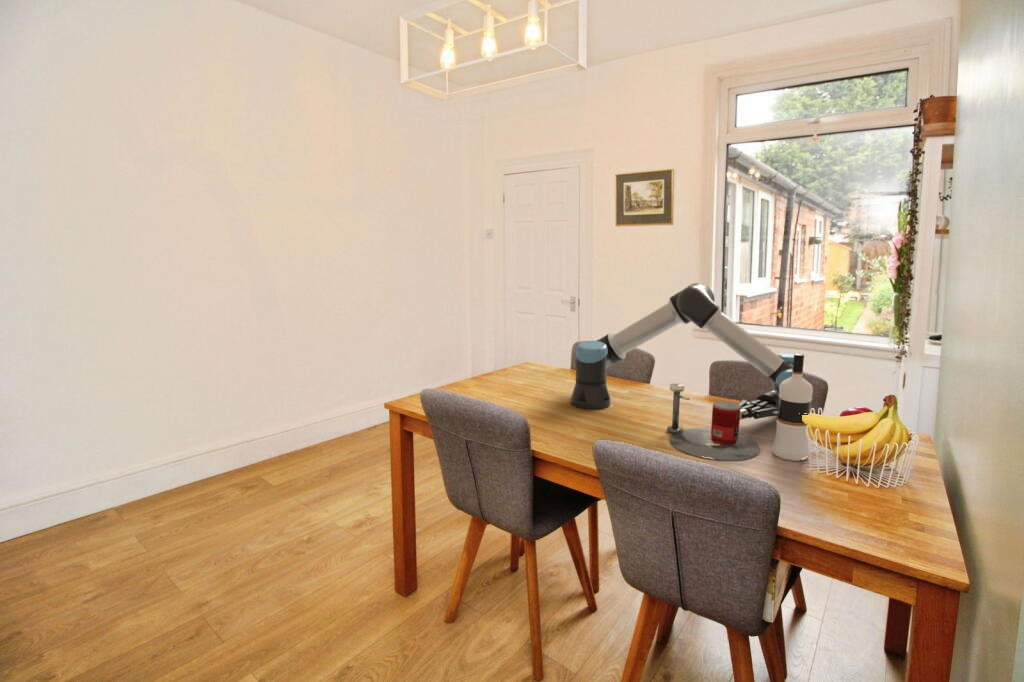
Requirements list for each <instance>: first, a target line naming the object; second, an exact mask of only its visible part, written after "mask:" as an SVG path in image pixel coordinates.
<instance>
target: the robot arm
mask: <svg viewBox="0 0 1024 682" xmlns="http://www.w3.org/2000/svg"><path fill="white" fill-rule="evenodd" d="M715 301H716V300H715V294H714V292H713V290H712V289H711V288H710V287H709V286H707V285H706V284H703V283H699V282H696V283H691V284H690V285H688V286H687V287H685V288H683V289H682V290H680V291H678V292H677V293H675V294H674V295H672V296H670V297H669V300H668V303H666V304H664V305H663V306H661V307H660V308H658V309H656V310H654V311H653V312H651V313H649V314H648V315H645V316H644V317H642V318H641V319H639V320H637V321H636V322H634V323H632V324H631V325H629V326H627V327H625V328H624V329H622V330H620V331H619V332H616V333H615V334H614V333H611V332H609V333H608V334H606V335H604V336H602V337H601V338H598V339H597V340H588V341H587V340H586V341H583V342H580V343H578V344H577V346H576V348H575V384H574V386H573V390H572V393H571V396H570V404H571V405H572V406H574V407H576V408H579V409H585V410H601V409H606V408H608V407H610V406H611V396H610V393H609V389H608V386H607V375H608V373H607V370H608V369H609V368H611V367H612V366H614V365H616V364H617V363H619V362H621V361H623V360H624V359H626V355H627V353H630V352H631V351H632V350H635V349H636V348H638V347H639V346H640V347H641V345H644V344H646V343H647V342H649V341H650V340H653V339H654V338H655V337H657V336H660V335H661V334H663V333H665V332H666V331H668V330H670V329H672V328H673V327H676V326H677V325H679V324H684V325H687V324H690V323H693V324H694V325H696V327H698V328H699V329H701V330H707V331H709V332H710V333H711V334H712V335H713V336H715V337H716V338H717V339H718V340H720V341H721V342H722V343H724V345H726V346H728V347H729V348H730V349H731V350H732V351H733V352H735V353H736V354H737V355H739V356H740V357H741V358H743V359H744V360H745V361H747V363H749V364H750V365H751V366H753V367H754V368H755V369H757V370H758V371H759V372H761V373H762V374H763V375H764V376H766V377H767V378H768V379H769V380H770V381H772V383H773V384H774V385H773V390H772V391H767V392H766V393H763V394H760V395H758V396H757V397H756V398H755V400H751V401H748V400H746V399H744V398H743V399H741V402H740V403H738V404H739V405H740V421H741V420H744V419H752V418H753V419H754V420H758V419H759V420H760V419H765V418H769V417H778V407H779V394H780V391H779V387H780V384H781V382H782V381H784V380H786V379H788V378H790V377H792V371H793V360H794V354H795V353H779V354H776V353H775V352H774V351H773V350H771V349H770V348H769V347H767V346H766V345H765V344H763V342H761V341H760V340H759V339H757V338H755V336H753V335H752V334H751V333H749V332H748V331H747V330H745V329H744V328H743V327H741V325H739V324H738V323H737V322H735V321H734V320H733V319H731V318H730V317H729V316H728V315H726V314H725V313H724V312H723V311H722V307H721V306H720V305H718V304H717V303H716V302H715Z"/></svg>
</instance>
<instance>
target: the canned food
mask: <svg viewBox="0 0 1024 682" xmlns="http://www.w3.org/2000/svg"><path fill="white" fill-rule="evenodd" d="M739 404H740V403H736V402H734V401H728V400H726V401H725V400H718V401H714V402H712V414H711V428H710V429H711V436H712V438H713V439H715V440H717V441H721V442H735V441H737V439H738V434H740V433H739V432H740V421H741V420H740V405H739Z"/></svg>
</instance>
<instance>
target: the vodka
mask: <svg viewBox="0 0 1024 682" xmlns="http://www.w3.org/2000/svg"><path fill="white" fill-rule="evenodd" d="M793 354H794V360H793V371H792V377H790V378H788V379H786V380H784V381H782V382H781V384H780V387H779V391H780V394H779V407H778V416H777V419H776V421H775V422H776V430H775V437H774V442H773V444H772V449H771V450H772V453H773V455H774V456H776V457H777V458H779V459H782V460H785V461H790V462H801V461H800V460H801V459H802V458H804V457H806V456H808V454H809V453H810V451H809V436H808V437H807V435H806V428H807V425H806V424H805V423H804V422H803V421H802V415H808V414H811V405H812V401H813V393H814V389H813V388H814V387H813V385H812V384H811V383H810V382H809V381H808V380H807V379H805V378H804V375H803V372H804V361H805V355H804V354H803V353H802V354H801V353H793ZM799 413H800V414H799ZM804 413H807V414H804ZM809 455H810V454H809ZM808 457H809V456H808Z"/></svg>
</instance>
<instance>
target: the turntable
mask: <svg viewBox="0 0 1024 682" xmlns="http://www.w3.org/2000/svg"><path fill="white" fill-rule="evenodd" d="M669 440H670V441H669V443H670V442H671V443H670V444H671V446H672V447H674V446H675V447H676V448H678V449H679V450H678V449H677V450H678V451H680V450H682V451H684V452H686V453H685V454H687V453H688V454H687V455H690V454H691V455H690V456H693V455H695V456H694V457H696V456H700V457H702V456H704V457H711V458H713V459H718V460H717V461H721V460H723V461H726V462H737V461H744V460H745V461H746V460H750V459H753V458H755V457H757V456H758V455H759V454H760V453H761V447H760V445H759V444H758V443H757V442H756V441H754V440H753V439H751V438H750V437H747V436H745V435H742V434H740V433H739V434H738V439H737V441H735V442H721V441H717V440H715V439H713V438H712V436H711V428H704V427H703V428H700V427H699V428H697V427H695V428H693V427H692V428H686V429H683V432H682V433H673V434H672V433H671V434H670V436H669ZM675 447H674V448H675ZM676 448H675V449H676ZM682 451H681V452H682ZM684 452H683V453H684ZM700 457H699V458H700ZM723 461H722V462H723Z"/></svg>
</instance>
